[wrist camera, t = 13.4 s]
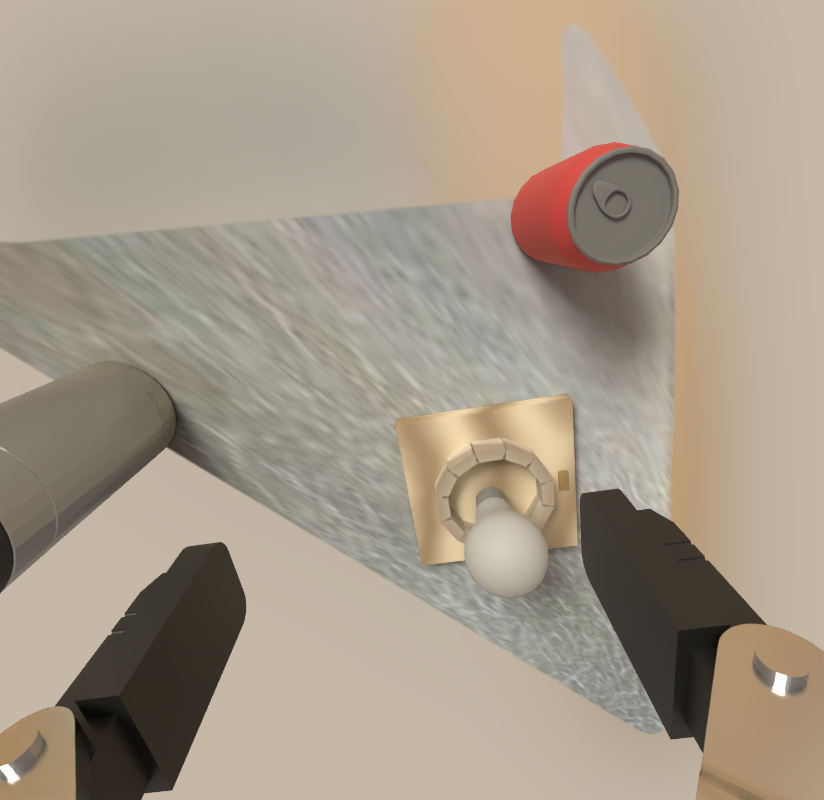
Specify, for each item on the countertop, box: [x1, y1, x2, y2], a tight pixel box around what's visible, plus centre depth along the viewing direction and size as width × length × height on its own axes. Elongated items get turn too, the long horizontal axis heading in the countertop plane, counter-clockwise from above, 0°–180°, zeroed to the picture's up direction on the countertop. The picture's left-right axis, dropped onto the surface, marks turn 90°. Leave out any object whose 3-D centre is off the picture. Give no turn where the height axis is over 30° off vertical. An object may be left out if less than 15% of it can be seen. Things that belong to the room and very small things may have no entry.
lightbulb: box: [464, 487, 549, 598], centre depth 35 cm, size 6×6×11 cm
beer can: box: [511, 142, 679, 272], centre depth 28 cm, size 7×7×12 cm
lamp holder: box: [396, 394, 578, 566], centre depth 40 cm, size 15×15×4 cm
